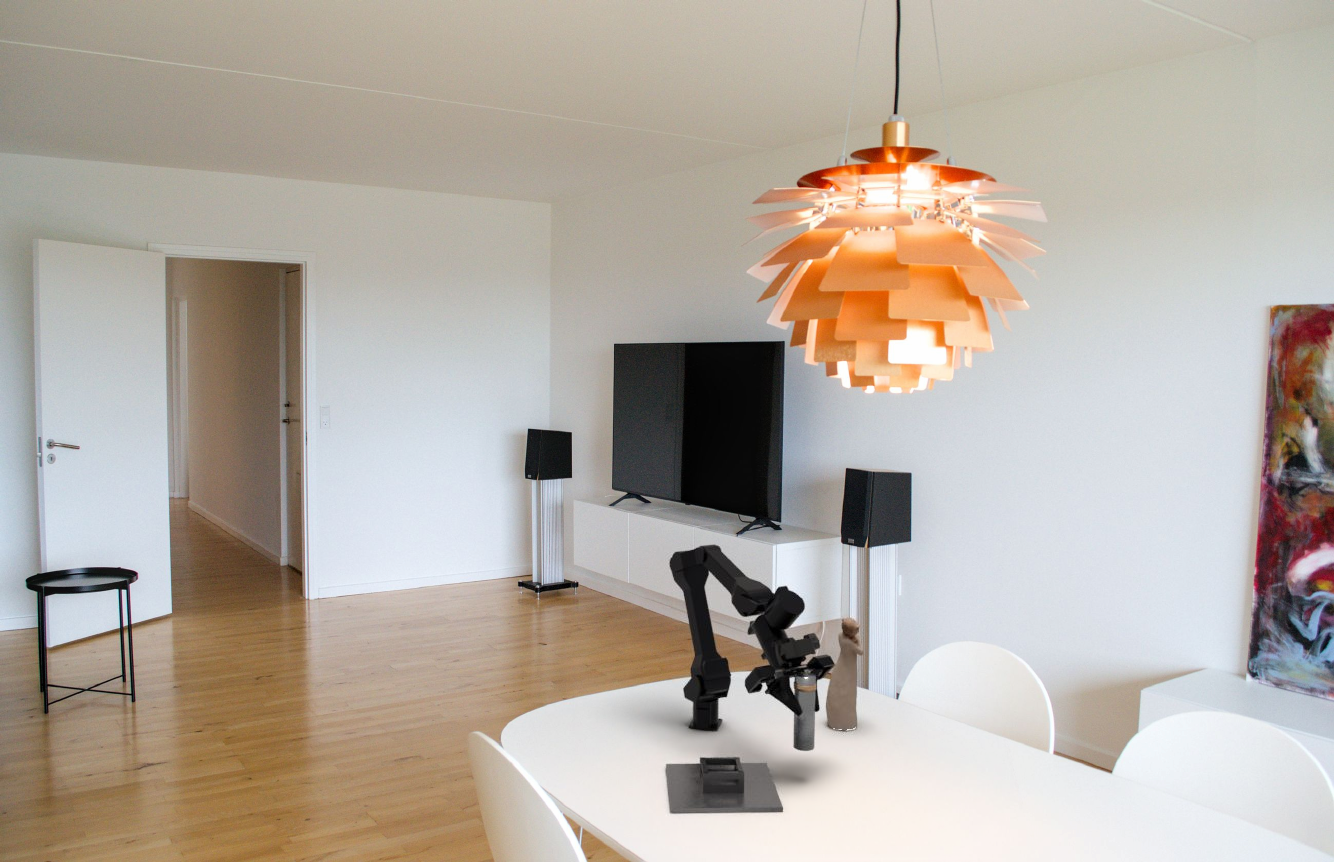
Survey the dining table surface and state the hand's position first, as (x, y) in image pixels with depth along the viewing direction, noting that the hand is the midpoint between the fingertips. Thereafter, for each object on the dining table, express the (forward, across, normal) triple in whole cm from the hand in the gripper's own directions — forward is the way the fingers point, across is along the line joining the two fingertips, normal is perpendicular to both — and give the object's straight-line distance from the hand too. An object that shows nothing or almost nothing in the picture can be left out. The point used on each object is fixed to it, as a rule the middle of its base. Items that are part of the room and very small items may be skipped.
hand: (809, 712), depth 184 cm
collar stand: (+6, -16, +14) cm, 22 cm away
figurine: (-4, +26, +24) cm, 36 cm away
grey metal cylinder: (+4, 0, +6) cm, 7 cm away
